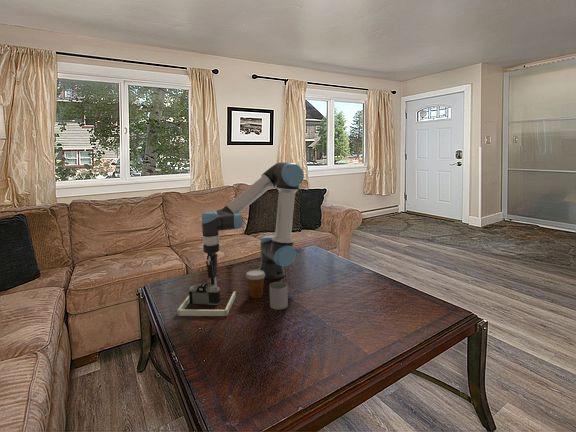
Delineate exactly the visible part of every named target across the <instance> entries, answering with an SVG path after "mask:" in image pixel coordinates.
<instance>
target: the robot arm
mask: <svg viewBox="0 0 576 432" xmlns="http://www.w3.org/2000/svg"><path fill="white" fill-rule="evenodd" d="M304 175H305V174H304V171H303V168H302V167H301V165H299V164H298V163H294V162H284V161H281V162H278V163H275V164H274V165H272V166H271V167H269V168H268V169H266V170H265V171H264V172H263V173H262V174H261V177H260V178H259V179H257V180H255V182H253V183H252V184H251V185H250V186H248V187H247V188H246V189H244V191H242V193H240V194H238V196H236V197H235V198H234V199H233V200H231V201H230V202H229V203H228V204H226V205H225V206H224V207H223V208H220V209H217V210H215V211H213V210H212V211H205V212H202V214H201V230H202V231H201V232H202V237H201V239H202V243H203V245H202V249H203V253H205V254H207V256H206V261H205V264H206V270H207V278H208V279H209V284H210V285H212V286H216V287H218V286H217V285H218V284H217V277H218V276H219V275H218V255H219V254H217V253H218V252H219V251H220V244H219V243H220V238H219V237H220V236H219V232H220V231H221V232H222V231H229V230H230V231H231V230H237V229H238V230H239V229H242V227H243V225H244V223H243V221H244V220H243V217H242V215H241V212H243V211H244V210H245V209H246V208H248V206H250V205H252V203H254V202H255V201H256V200H257V199H258V198H260V197H261V196H262V195H264V194H265V193H267V191H268V190H270V189H274V188H275V187H276V189H277V191H278V198H277V209H276V210H277V211H276V220H275V221H276V222H275V230H274V231H275V233H274V235H265V236H262V237H261V238H260V243H259V245H260V265H259V268H258V270H262V271H264V273H265V277H264V280H278V279H281V278H283V277H285V275H286V274H285V269H284V267H288V266H290V265H292V264H293V262H294V261H295V259H296V257H297V252H296V251H297V250H296V249H295V248H294V239H293V238H292V230H293V219H294V211H295V201H296V199H295V198H296V193H297V192H298V191H299V190H300V189H299V187H300V185H301V184H302V183H303V181H304V177H305V176H304Z"/></svg>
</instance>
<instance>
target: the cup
mask: <svg viewBox="0 0 576 432" xmlns="http://www.w3.org/2000/svg"><path fill="white" fill-rule="evenodd" d="M268 289H269V308H271V309H273V310H284V309H287V307H288V306H289V304H288V302H289V301H288V300H289V296H288V293H289V292H288V289H289V288H288V284H287V283H286V282H283V281H274V282H271V283H269V288H268Z"/></svg>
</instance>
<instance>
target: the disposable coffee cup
mask: <svg viewBox="0 0 576 432" xmlns="http://www.w3.org/2000/svg"><path fill="white" fill-rule="evenodd" d="M245 277H246V280H247V281H246V282H247V286H248V292H249V297H250V298H252V299H259V298H261V297H263V294H264V293H263V292H264V286H265V285H264V283H265V279H264V277H265V273H264V271H262V270H259V269H251V270H249V271H247V272H246V275H245Z"/></svg>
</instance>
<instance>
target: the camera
mask: <svg viewBox="0 0 576 432" xmlns="http://www.w3.org/2000/svg"><path fill="white" fill-rule="evenodd" d="M188 290H189V292H188V296H189V300H190V302H189V304H193V305H210V306H211V305H213V306H217V305H220V303H221V290H222V289H220V287H219V286H217V287H216V286H212V285H210V283H206V282H200V283H198V284H193V285H192V286H190V287H189V289H188Z"/></svg>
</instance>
